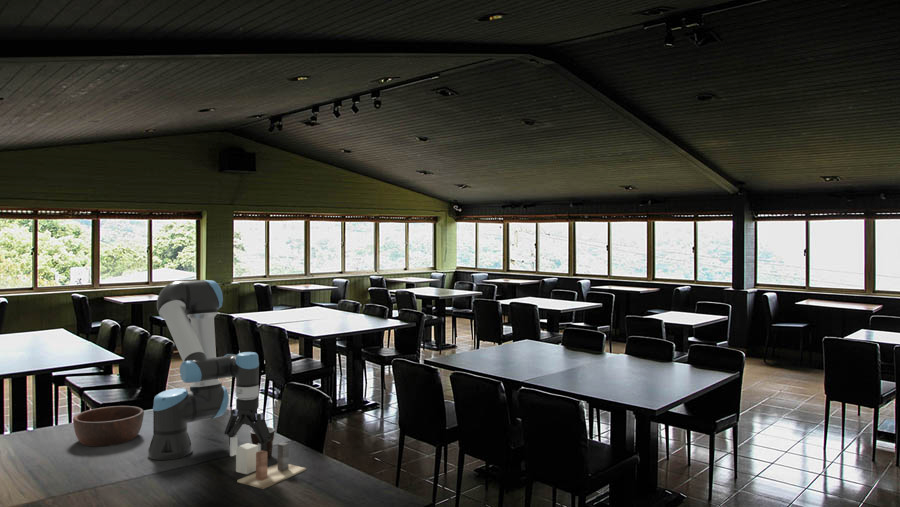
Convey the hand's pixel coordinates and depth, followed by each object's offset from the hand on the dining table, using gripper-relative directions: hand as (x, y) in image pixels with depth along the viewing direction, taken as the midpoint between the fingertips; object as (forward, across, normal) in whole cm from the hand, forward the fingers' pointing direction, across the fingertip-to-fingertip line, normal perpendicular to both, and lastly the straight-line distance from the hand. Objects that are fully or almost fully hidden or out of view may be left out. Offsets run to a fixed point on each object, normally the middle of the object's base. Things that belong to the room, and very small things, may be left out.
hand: (247, 458), depth 219 cm
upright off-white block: (+4, 0, 0) cm, 4 cm away
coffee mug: (+4, -6, +14) cm, 16 cm away
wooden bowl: (+4, -74, -3) cm, 74 cm away
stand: (+4, +11, +1) cm, 12 cm away
